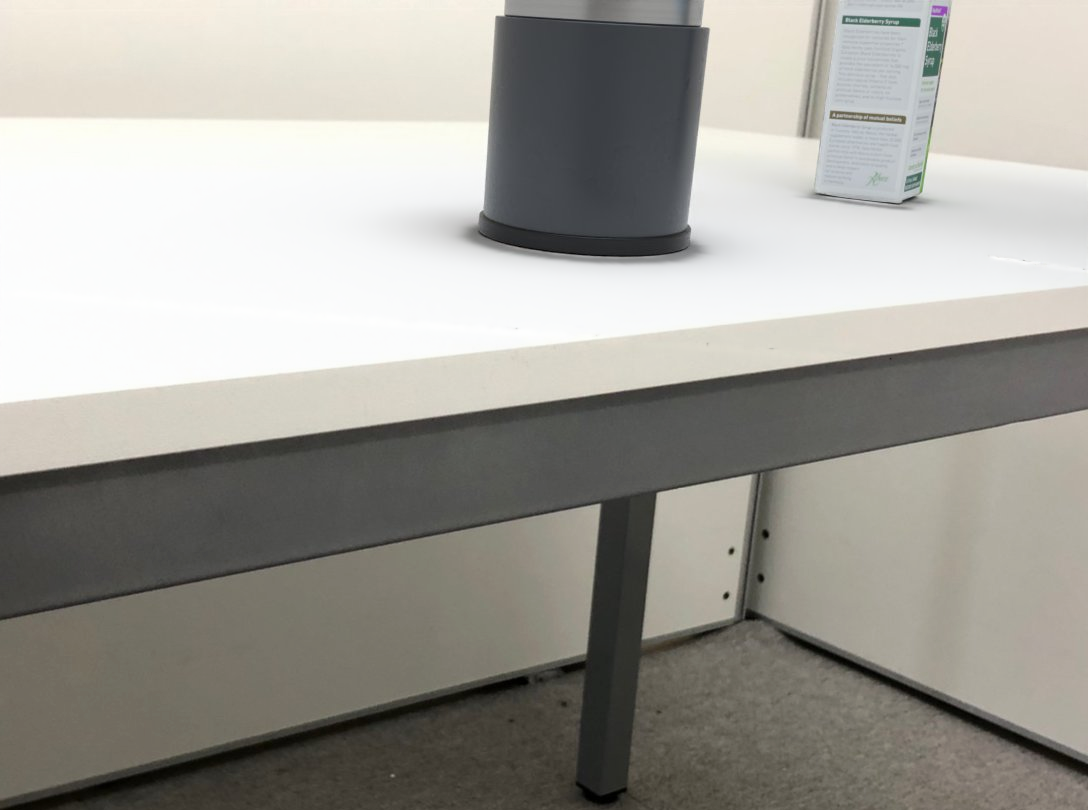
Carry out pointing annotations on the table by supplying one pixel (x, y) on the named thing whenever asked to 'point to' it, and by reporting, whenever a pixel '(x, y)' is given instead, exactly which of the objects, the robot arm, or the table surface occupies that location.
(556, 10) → the dark grey upright cylinder
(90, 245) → the table surface
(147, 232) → the table surface
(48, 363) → the table surface
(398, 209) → the table surface
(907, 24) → the syrup box
